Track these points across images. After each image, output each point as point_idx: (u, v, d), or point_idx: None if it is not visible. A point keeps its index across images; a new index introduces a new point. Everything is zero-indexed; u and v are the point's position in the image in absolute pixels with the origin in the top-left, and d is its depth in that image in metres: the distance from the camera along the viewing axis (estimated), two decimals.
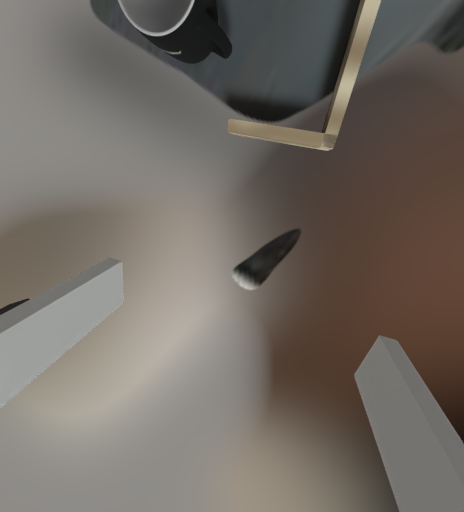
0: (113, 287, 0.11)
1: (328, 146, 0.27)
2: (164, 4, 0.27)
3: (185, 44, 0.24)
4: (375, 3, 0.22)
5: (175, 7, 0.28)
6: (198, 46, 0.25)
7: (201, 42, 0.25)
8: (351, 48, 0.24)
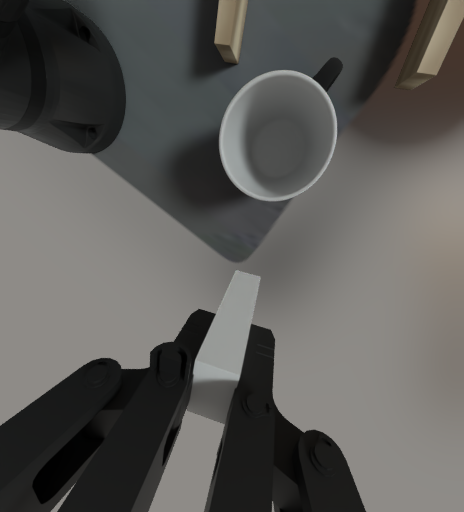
0: None
1: None
2: (256, 176, 0.25)
3: None
4: None
5: (255, 168, 0.26)
6: None
7: None
8: None
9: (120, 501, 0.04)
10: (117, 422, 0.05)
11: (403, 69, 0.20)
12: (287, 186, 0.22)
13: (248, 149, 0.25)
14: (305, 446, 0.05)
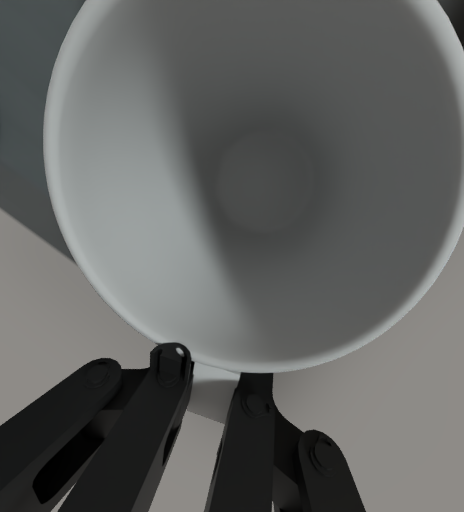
0: None
1: None
2: (221, 237, 0.13)
3: None
4: None
5: (223, 218, 0.14)
6: None
7: None
8: None
9: (120, 501, 0.04)
10: (117, 422, 0.05)
11: None
12: (278, 274, 0.10)
13: (205, 185, 0.13)
14: (305, 446, 0.05)
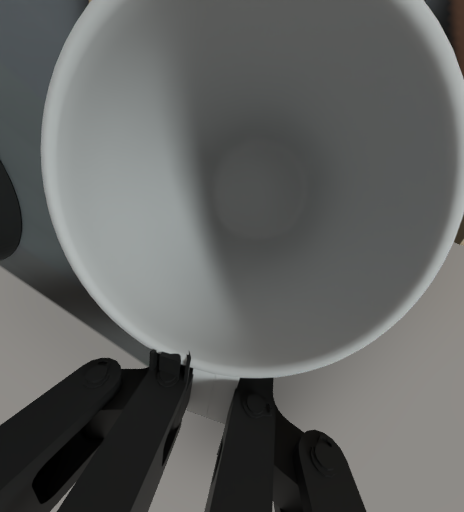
0: None
1: None
2: (218, 243, 0.13)
3: None
4: None
5: (219, 225, 0.14)
6: None
7: None
8: None
9: (119, 501, 0.04)
10: (116, 422, 0.05)
11: None
12: (275, 279, 0.10)
13: (202, 192, 0.13)
14: (306, 446, 0.05)
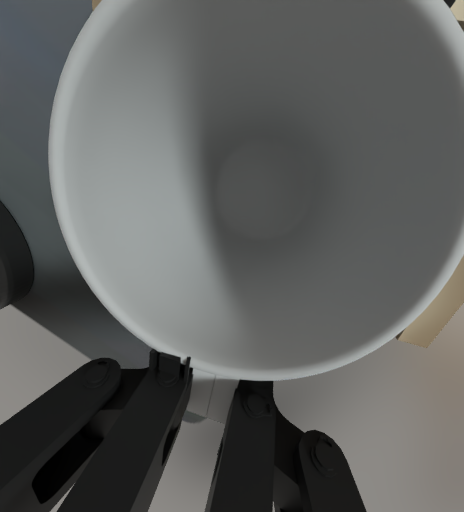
0: None
1: None
2: (219, 242, 0.13)
3: None
4: None
5: (220, 223, 0.14)
6: None
7: None
8: None
9: (120, 501, 0.04)
10: (116, 422, 0.05)
11: None
12: (276, 281, 0.10)
13: (205, 190, 0.13)
14: (306, 446, 0.05)
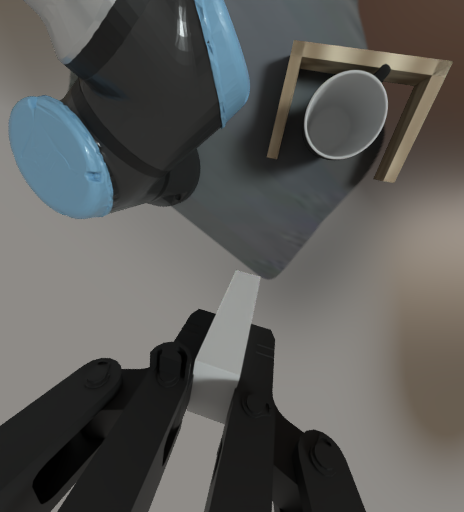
0: None
1: (448, 67, 0.26)
2: None
3: None
4: (337, 50, 0.27)
5: None
6: None
7: None
8: (363, 64, 0.27)
9: (120, 501, 0.04)
10: (117, 422, 0.05)
11: (378, 170, 0.34)
12: (339, 154, 0.31)
13: (307, 128, 0.34)
14: (305, 446, 0.05)
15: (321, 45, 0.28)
